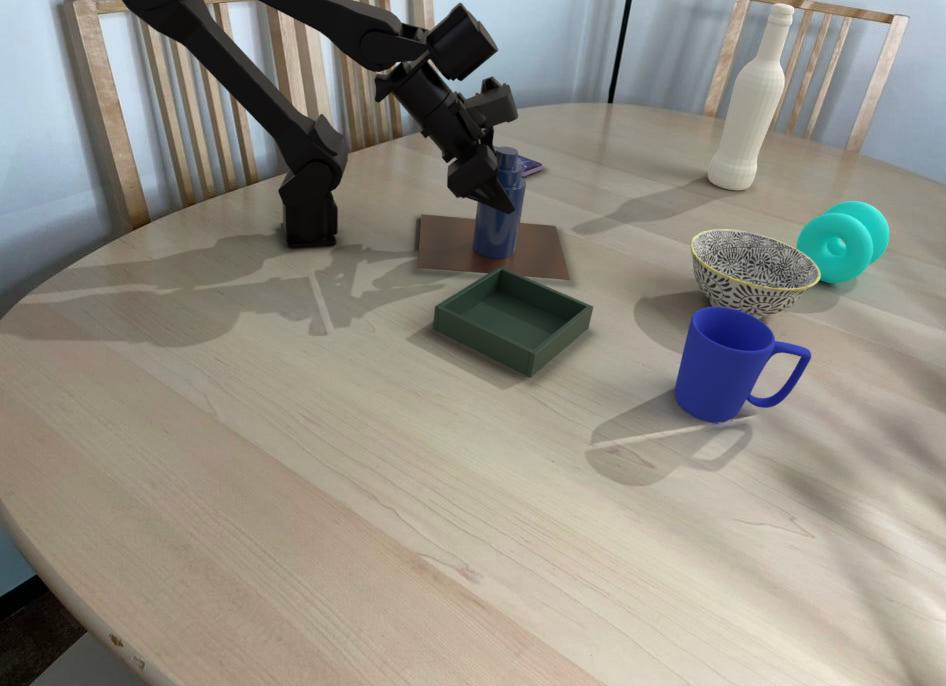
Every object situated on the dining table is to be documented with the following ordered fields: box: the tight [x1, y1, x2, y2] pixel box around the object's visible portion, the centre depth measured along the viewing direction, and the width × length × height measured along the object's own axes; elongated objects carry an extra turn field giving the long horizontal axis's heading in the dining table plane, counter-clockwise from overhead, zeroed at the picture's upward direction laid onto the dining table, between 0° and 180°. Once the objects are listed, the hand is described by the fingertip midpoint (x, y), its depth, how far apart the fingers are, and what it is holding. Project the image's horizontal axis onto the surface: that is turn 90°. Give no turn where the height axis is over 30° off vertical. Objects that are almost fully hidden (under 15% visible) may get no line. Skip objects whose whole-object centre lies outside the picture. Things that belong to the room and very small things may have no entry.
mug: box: [674, 306, 812, 424], centre depth 76 cm, size 8×12×10 cm
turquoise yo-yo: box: [795, 200, 890, 284], centre depth 106 cm, size 10×10×10 cm
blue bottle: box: [472, 146, 527, 259], centre depth 98 cm, size 6×6×14 cm
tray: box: [432, 266, 594, 378], centre depth 86 cm, size 13×13×4 cm
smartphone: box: [493, 145, 544, 178], centre depth 131 cm, size 7×1×15 cm
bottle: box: [707, 2, 795, 192], centre depth 126 cm, size 8×8×30 cm
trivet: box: [417, 213, 571, 281], centre depth 103 cm, size 20×16×1 cm
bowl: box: [689, 228, 821, 320], centre depth 95 cm, size 16×16×8 cm
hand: (509, 196), depth 98 cm, fingers open, 9 cm apart
